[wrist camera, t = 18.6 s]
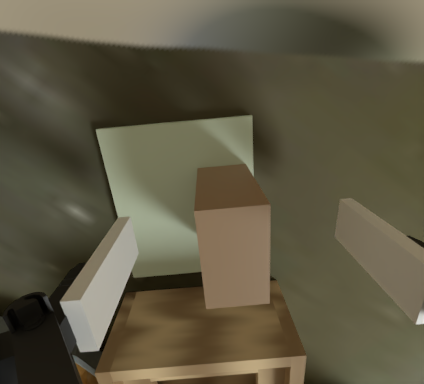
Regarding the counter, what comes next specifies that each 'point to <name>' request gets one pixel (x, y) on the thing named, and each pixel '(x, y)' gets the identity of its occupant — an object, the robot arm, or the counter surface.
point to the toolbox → (201, 341)
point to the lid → (194, 204)
